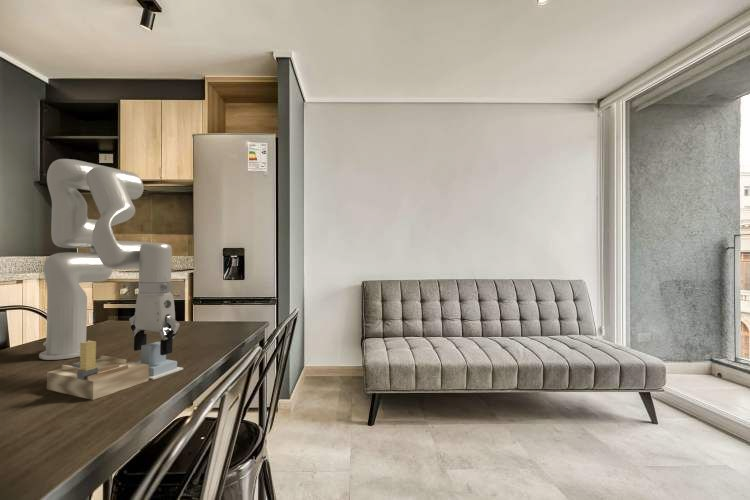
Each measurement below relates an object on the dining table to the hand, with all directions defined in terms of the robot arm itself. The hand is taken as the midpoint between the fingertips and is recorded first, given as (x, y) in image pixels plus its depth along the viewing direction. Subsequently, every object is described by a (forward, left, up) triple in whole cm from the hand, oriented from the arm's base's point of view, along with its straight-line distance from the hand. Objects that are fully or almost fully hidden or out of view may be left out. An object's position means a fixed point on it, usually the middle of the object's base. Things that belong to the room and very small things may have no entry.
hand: (152, 351), depth 99 cm
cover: (+1, 0, -5) cm, 5 cm away
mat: (+1, 0, -5) cm, 5 cm away
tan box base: (-2, -12, -5) cm, 13 cm away
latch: (+1, -18, -1) cm, 18 cm away
